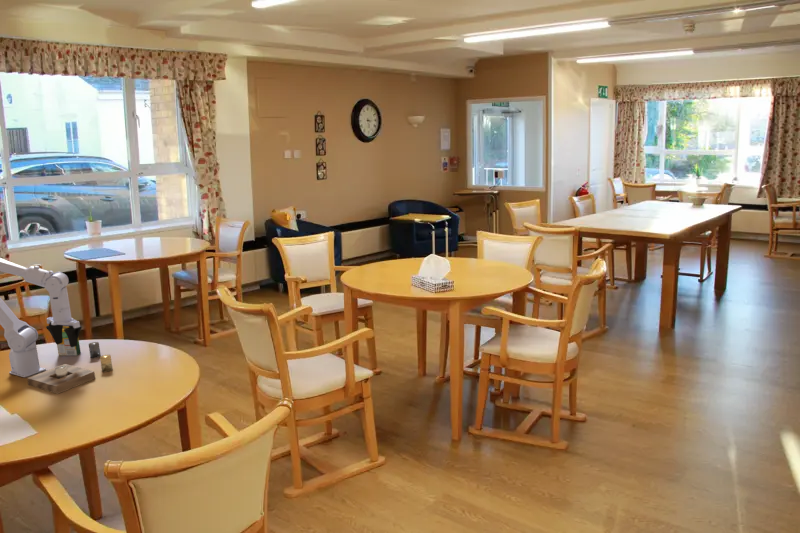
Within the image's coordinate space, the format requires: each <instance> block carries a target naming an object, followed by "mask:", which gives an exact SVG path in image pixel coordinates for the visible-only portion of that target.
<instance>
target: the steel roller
mask: <svg viewBox="0 0 800 533" xmlns="http://www.w3.org/2000/svg"><path fill="white" fill-rule="evenodd" d="M54 368H55V371H56V377H57V379H60V378H62V377H65V376H68V373H67V366H61V365H59V366H55V367H54Z"/></svg>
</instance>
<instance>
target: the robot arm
mask: <svg viewBox="0 0 800 533" xmlns="http://www.w3.org/2000/svg"><path fill="white" fill-rule="evenodd" d="M0 272H1V273H6V274H9V275H10V274H11V275H14V276H17V277H20V278H21V277H22V278H23V280H24V281H25V282H26V283H29V284H33V285H34V286H35V285H36V286H39V287H42V288H44V289H45V290H46V291H47V292H48V294H49V302H50V306H51V314H52V316H49V317H47V318H46V326H45V329H46V330H48V332H49V333H50V334H51V336H52V338H53V341H54V342H55V345H56V346H57V345H58V344H60V343H62V342H63V337H62V329H64V331H65V333H66V334H67V336H68V339H69V343H70V346H71V347H75V346H77V342H78V338H79V335H80V332H81V330H82V325H81V324H80V321H79V320H77V319H74V318H73V317H72V310H71V305H70V304H71V303H70V299H69V294H68V287H67V286H68V284H69V282H70V280H69V277H68V275H67V274H65V273H63V272H62V271H56V272H54V270H46V269H45V268H40V266H39V265H36V264H35V265H31V266H29V267H25V266H23V265H20V264H17V263H15V262H11V261H9V260H7V259H4V258H2V257H0ZM47 324H48V325H47ZM0 326H1V327H2V328H3V330H4V333H3V337H4V339H5V340H6V341H7V345H8V347H9V348H10V350H9V354H8V357H9V358H8V359H9V363H10V368H11V369H10V370H11V371H9V374H11V375H15V376H18V377H22V378H29V377H31V376H34V375H37V374H39V373H42V372H45V371H47V370H46V368H45V367H41V365H40V360H39V355H38V350H37V349H38V348H37V347H38V346H37V344H36V341H37V340H38V338H39V333H38V330H37V329H36V328H34V327H33V326H31V325H29V324H28V322H26V321H23V320H20V319H19V318H18V317H17V315H16V314H15V313H14V312H13V310H12V309H11V308H10V307H9V305H7V303H6V302H5V301H4V300H3V299H2V297H1V296H0ZM63 326H69V328H64V327H63Z"/></svg>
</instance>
